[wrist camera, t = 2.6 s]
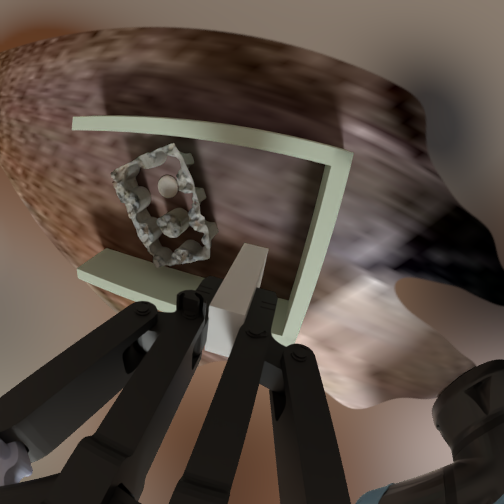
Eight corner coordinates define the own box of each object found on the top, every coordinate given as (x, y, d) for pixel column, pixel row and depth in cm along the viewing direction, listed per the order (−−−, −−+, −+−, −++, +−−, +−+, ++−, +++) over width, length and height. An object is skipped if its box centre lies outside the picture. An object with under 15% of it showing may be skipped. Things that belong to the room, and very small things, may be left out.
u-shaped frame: (344, 148, 21) (353, 153, 16) (297, 312, 28) (292, 349, 23) (110, 115, 23) (73, 117, 18) (107, 256, 31) (78, 278, 26)
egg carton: (131, 161, 25) (105, 168, 22) (195, 137, 23) (174, 139, 20) (162, 257, 29) (142, 275, 25) (226, 246, 27) (212, 265, 23)
